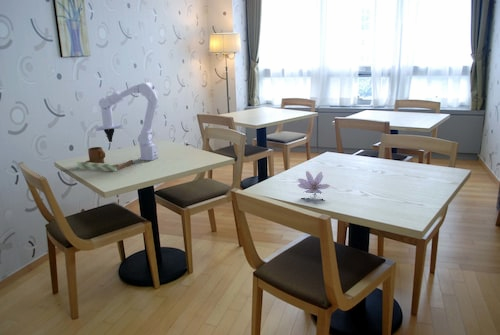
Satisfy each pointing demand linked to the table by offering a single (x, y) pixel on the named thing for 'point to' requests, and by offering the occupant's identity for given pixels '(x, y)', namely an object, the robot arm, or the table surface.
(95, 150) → the mug
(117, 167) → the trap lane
